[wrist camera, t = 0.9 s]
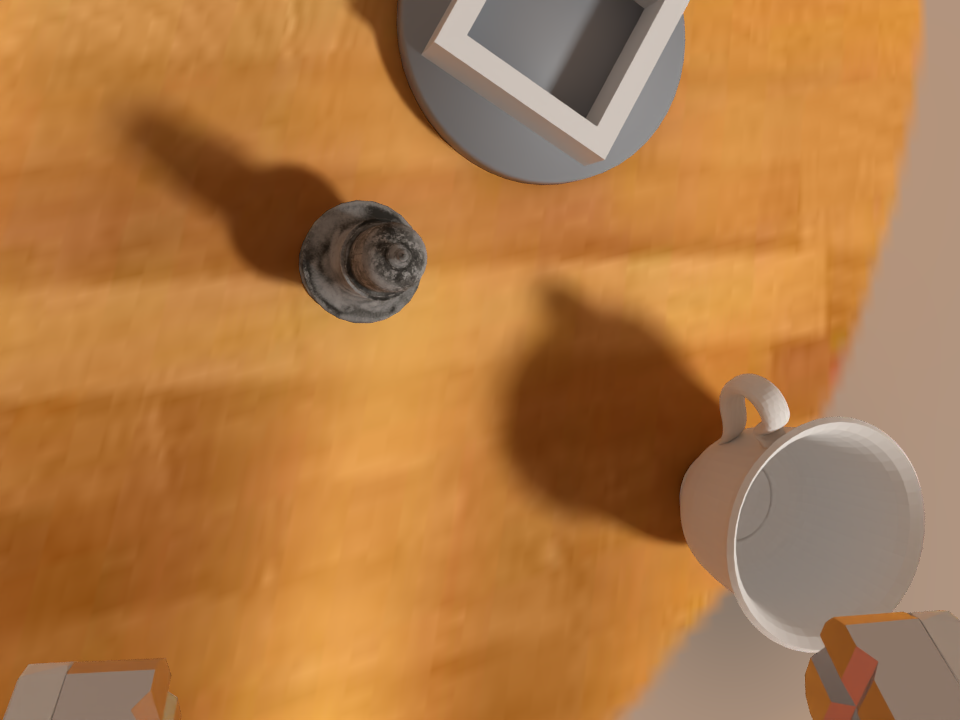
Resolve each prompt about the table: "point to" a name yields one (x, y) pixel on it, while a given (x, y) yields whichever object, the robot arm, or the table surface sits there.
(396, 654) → the table surface
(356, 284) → the dark grey tapered piece
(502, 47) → the socket stand
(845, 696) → the robot arm
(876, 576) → the teacup
